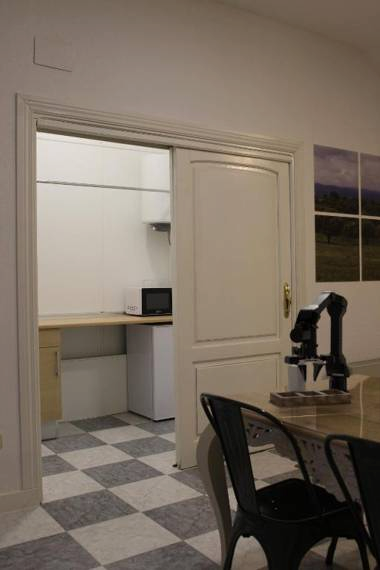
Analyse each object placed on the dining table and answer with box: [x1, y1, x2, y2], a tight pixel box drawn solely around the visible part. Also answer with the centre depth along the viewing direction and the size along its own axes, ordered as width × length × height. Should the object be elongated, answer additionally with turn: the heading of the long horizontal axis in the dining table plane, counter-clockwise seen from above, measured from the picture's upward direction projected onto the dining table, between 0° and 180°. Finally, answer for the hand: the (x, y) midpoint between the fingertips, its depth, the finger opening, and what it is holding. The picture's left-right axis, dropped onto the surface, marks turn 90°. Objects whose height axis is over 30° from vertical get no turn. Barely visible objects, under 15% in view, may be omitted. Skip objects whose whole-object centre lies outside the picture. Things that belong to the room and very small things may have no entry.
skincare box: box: [287, 364, 307, 392], centre depth 236 cm, size 6×4×12 cm
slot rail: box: [269, 388, 352, 407], centre depth 223 cm, size 28×12×3 cm, turn 102°
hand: (309, 381), depth 223 cm, fingers open, 4 cm apart
